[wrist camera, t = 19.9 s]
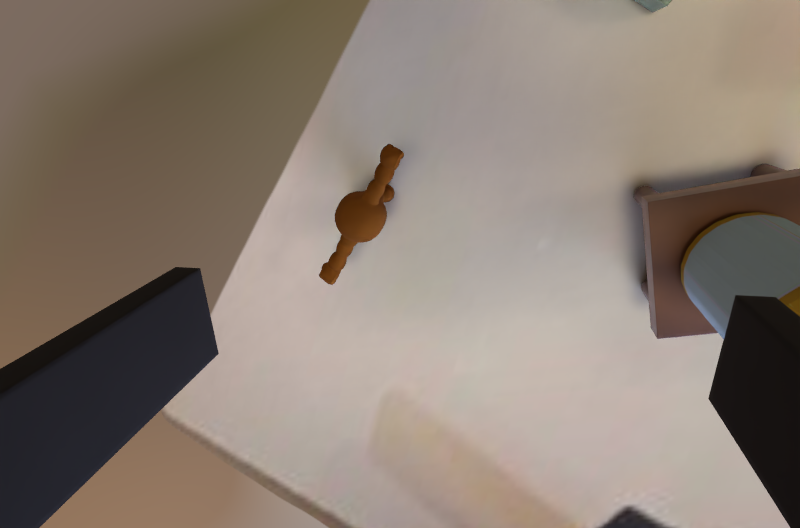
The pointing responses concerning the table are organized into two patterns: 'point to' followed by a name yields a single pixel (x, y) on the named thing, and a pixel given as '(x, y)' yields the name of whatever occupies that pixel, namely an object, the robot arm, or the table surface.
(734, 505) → the table surface
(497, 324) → the table surface
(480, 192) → the table surface
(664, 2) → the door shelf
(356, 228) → the toy figurine
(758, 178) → the footed square tray
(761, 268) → the bottle
